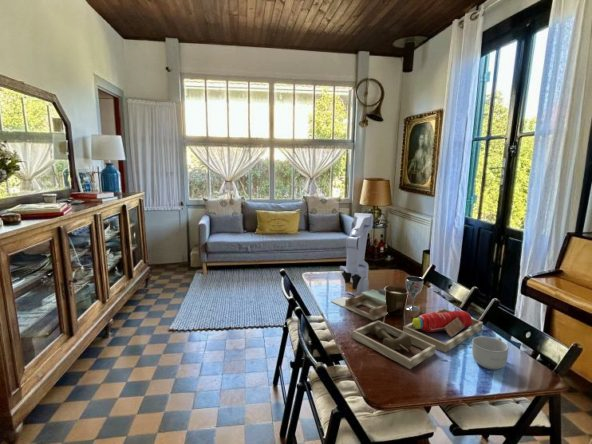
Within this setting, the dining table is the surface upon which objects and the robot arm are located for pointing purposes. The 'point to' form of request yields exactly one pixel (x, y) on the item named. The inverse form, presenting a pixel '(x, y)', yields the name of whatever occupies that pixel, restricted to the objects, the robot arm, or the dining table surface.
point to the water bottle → (443, 322)
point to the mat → (340, 301)
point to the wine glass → (413, 290)
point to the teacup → (490, 352)
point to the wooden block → (350, 287)
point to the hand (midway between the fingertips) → (351, 287)
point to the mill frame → (403, 360)
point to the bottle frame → (451, 343)
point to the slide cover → (376, 295)
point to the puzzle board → (376, 306)
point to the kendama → (388, 341)
